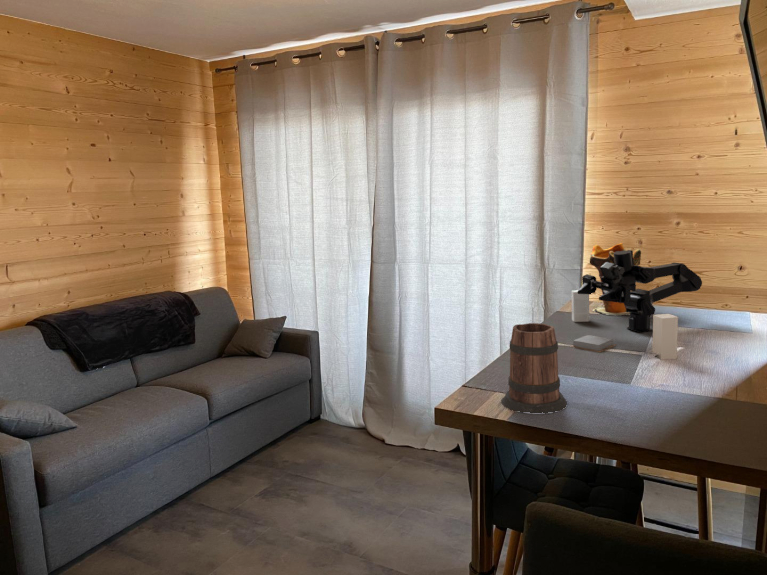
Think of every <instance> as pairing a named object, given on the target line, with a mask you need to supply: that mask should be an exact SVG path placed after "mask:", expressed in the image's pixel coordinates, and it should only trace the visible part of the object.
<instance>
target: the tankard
mask: <svg viewBox="0 0 767 575" xmlns="http://www.w3.org/2000/svg"><path fill="white" fill-rule="evenodd" d="M511 331H512V332H511V337H510V338H511V339H510V341H509V350H510V352H509V353H510V354H509V357H510V358H509V375H508V384H507V385H508V386H509V387H508V388H509V389H508V390H507V391H506V392H505V394H504V396H503V397H502V398H501V401H500V403H501V405H502V406H503V407H504V408H505V407H506V409H507V408H508V409H507V410H509V409H510V410H509V411H512V410H513V411H512V412H515V411H520V412H530V413H542V412H543V413H548V412H555V411H560V410H562V409H563V408H565V407H566V405H567V402H568V400H567V399H566V398H565V396H564V395H563V394H562V393H561V391H560V388H561V387H560V386H561V378H560V377H559V363H558V362H559V361H558V360H559V359H558V350H559V342H558V341H557V337H556V332H555V327H554V326H552V325H550V324H549V325H548V324H546V323H538V322H531V323H523V324H520V323H519V324H515V325H513V326H512V330H511ZM566 400H567V401H566ZM566 408H567V407H566ZM566 408H565V409H566ZM562 411H563V410H562ZM560 412H561V411H560Z"/></svg>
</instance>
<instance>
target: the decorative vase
mask: <svg viewBox="0 0 767 575" xmlns="http://www.w3.org/2000/svg"><path fill="white" fill-rule="evenodd" d="M623 244H624V243H623V242H620V243H618V244H615V245H613V246H611V247H609V248H605V249H604V248H603V247H602V246H600V245H598V244H595V245H593V247H592V251H591V254H590V258H589V264H590V265H591V266H593V267H595V268H596V270H597V271H598V277H599V280H600V281H599V282H602V281H601V277H603V275H602V272H601V270H600V267H601V266H602V265H603V264H605V263H606V262H609V263H613V264H615V262H614V252H616V251H627V250H626V248H624V245H623ZM641 255H642V251H641V249H639V248H638V249H635V250H634V251H633V262H634V265H637V266H641V260H642V259H641V258H642V256H641ZM601 295H603V293H602V294H601ZM602 304H603V306H599V307H596V308H594V309H592V310H591V311H593V312H597V313H600V314H603V315H607V316H608V315H611V316H622V315H623V316H625V315H629V316H630V312H626V308H625V305H624V303H618V302H610V301H602Z"/></svg>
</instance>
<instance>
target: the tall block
mask: <svg viewBox="0 0 767 575" xmlns="http://www.w3.org/2000/svg"><path fill="white" fill-rule="evenodd" d="M652 316H653V318H652V322H653V323H652V329H653V330H652V353H655V354H656V355H654V357H655V358H656V359H659V360H660V361H662V360H664V361H665V360H675V359H677V358H678V356H677V355H678V333H679V332H678V331H679V329H678V328H679V316H676V315H673V314H671V313H661V314H660V313H659V314H654V315H652Z"/></svg>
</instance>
